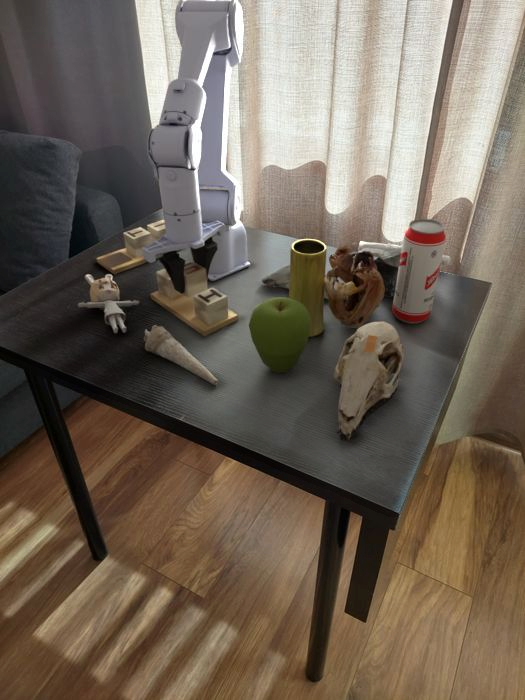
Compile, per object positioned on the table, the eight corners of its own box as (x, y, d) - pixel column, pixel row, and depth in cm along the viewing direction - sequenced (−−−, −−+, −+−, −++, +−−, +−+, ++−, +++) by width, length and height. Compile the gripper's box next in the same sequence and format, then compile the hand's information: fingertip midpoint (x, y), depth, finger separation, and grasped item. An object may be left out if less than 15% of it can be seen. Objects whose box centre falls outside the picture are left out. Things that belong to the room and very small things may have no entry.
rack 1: (164, 238, 114) (161, 216, 110) (182, 249, 109) (180, 226, 106) (97, 262, 105) (91, 238, 102) (114, 274, 101) (109, 250, 98)
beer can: (432, 310, 89) (451, 221, 79) (425, 329, 84) (444, 237, 75) (396, 302, 91) (410, 214, 82) (387, 320, 87) (401, 230, 77)
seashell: (153, 318, 82) (225, 333, 73) (158, 359, 85) (229, 378, 76) (132, 326, 79) (204, 343, 70) (138, 368, 82) (209, 389, 73)
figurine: (358, 249, 99) (456, 263, 95) (361, 229, 99) (459, 243, 96) (356, 261, 106) (448, 275, 102) (360, 243, 106) (451, 256, 103)
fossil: (328, 298, 86) (262, 261, 93) (322, 321, 89) (258, 283, 96) (365, 280, 93) (301, 247, 101) (358, 302, 96) (296, 268, 103)
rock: (390, 311, 93) (434, 280, 94) (389, 287, 87) (436, 254, 88) (362, 285, 97) (404, 256, 99) (359, 260, 91) (404, 229, 93)
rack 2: (151, 298, 94) (146, 273, 91) (183, 285, 97) (180, 260, 94) (204, 336, 84) (201, 309, 81) (238, 319, 88) (236, 293, 85)
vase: (304, 312, 89) (306, 234, 80) (332, 326, 85) (338, 246, 77) (279, 327, 85) (279, 246, 77) (307, 342, 82) (310, 260, 73)
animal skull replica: (309, 433, 66) (313, 372, 60) (352, 358, 78) (358, 301, 72) (372, 454, 63) (382, 392, 57) (406, 373, 75) (418, 315, 69)
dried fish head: (396, 329, 77) (372, 266, 74) (341, 348, 80) (315, 287, 77) (393, 285, 96) (373, 233, 92) (348, 301, 99) (327, 251, 95)
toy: (89, 322, 80) (68, 264, 89) (85, 347, 83) (66, 288, 92) (153, 318, 85) (128, 264, 94) (148, 342, 89) (124, 287, 97)
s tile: (174, 289, 89) (171, 267, 86) (194, 280, 91) (191, 259, 88) (188, 298, 86) (185, 276, 84) (207, 289, 88) (205, 267, 86)
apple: (297, 345, 82) (299, 280, 75) (318, 378, 75) (322, 310, 68) (243, 356, 79) (240, 291, 73) (261, 391, 73) (259, 323, 66)
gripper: (155, 230, 74) (167, 311, 82) (235, 203, 81) (239, 280, 89) (129, 216, 78) (143, 294, 86) (207, 191, 85) (214, 265, 94)
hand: (190, 286), depth 88 cm, fingers closed on s tile, 4 cm apart
